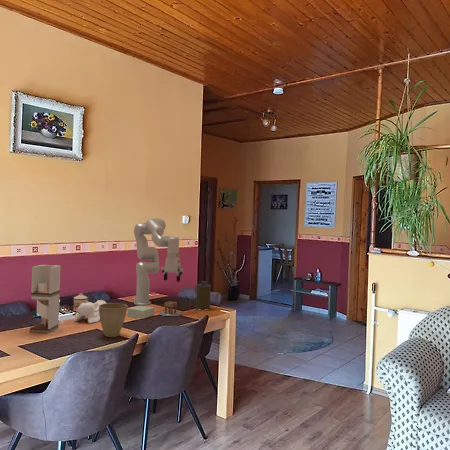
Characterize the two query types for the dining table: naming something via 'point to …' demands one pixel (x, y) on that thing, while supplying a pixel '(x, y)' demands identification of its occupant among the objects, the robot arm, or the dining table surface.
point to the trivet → (170, 313)
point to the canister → (203, 296)
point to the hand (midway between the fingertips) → (171, 280)
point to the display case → (46, 296)
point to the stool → (170, 304)
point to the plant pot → (112, 318)
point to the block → (140, 312)
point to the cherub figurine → (89, 311)
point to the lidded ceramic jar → (79, 301)
